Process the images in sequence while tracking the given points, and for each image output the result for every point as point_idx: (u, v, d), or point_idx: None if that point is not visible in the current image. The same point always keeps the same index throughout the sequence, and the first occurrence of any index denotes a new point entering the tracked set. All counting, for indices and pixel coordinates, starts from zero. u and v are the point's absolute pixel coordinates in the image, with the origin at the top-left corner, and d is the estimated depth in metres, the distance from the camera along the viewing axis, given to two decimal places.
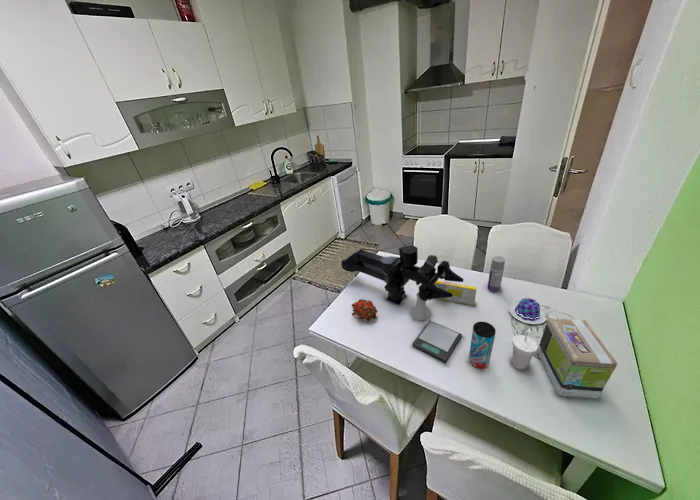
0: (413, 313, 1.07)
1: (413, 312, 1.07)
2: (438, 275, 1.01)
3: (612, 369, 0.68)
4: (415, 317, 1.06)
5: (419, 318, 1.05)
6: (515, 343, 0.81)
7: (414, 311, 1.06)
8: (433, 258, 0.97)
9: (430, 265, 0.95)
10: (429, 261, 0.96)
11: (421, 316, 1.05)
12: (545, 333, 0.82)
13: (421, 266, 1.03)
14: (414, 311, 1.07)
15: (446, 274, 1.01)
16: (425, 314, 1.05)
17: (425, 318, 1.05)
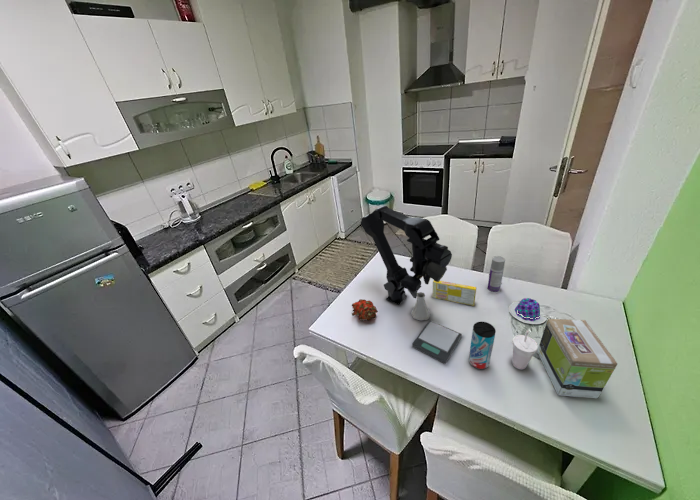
0: (413, 313, 1.07)
1: (413, 312, 1.07)
2: None
3: (612, 369, 0.68)
4: (415, 317, 1.06)
5: (419, 318, 1.05)
6: (515, 343, 0.81)
7: (414, 311, 1.06)
8: (444, 273, 0.93)
9: (438, 280, 0.92)
10: (441, 276, 0.92)
11: (421, 316, 1.05)
12: (545, 333, 0.82)
13: None
14: (414, 311, 1.07)
15: None
16: (425, 314, 1.05)
17: (425, 318, 1.05)
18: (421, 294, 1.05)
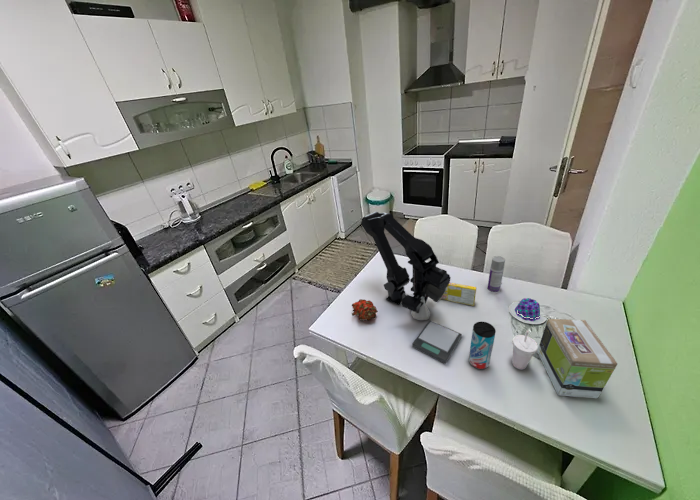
0: (413, 313, 1.07)
1: (413, 312, 1.07)
2: None
3: (612, 369, 0.68)
4: (415, 317, 1.06)
5: (419, 318, 1.05)
6: (515, 343, 0.81)
7: None
8: None
9: (437, 300, 0.96)
10: (440, 297, 0.96)
11: (421, 316, 1.05)
12: (545, 333, 0.82)
13: None
14: None
15: None
16: (425, 314, 1.05)
17: (425, 318, 1.05)
18: None
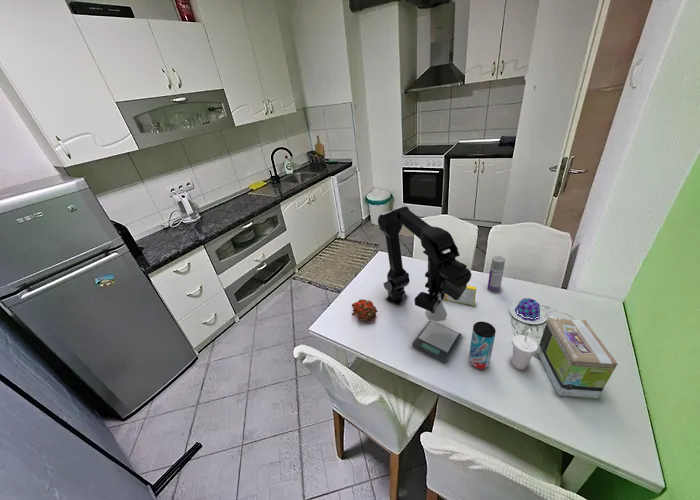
0: (427, 313, 0.93)
1: (427, 312, 0.93)
2: None
3: (612, 369, 0.68)
4: (430, 318, 0.91)
5: (435, 319, 0.91)
6: (515, 343, 0.81)
7: None
8: (464, 290, 0.83)
9: (457, 298, 0.82)
10: (461, 294, 0.82)
11: (437, 317, 0.90)
12: (545, 333, 0.82)
13: None
14: (428, 311, 0.92)
15: None
16: (442, 314, 0.90)
17: (442, 319, 0.91)
18: None
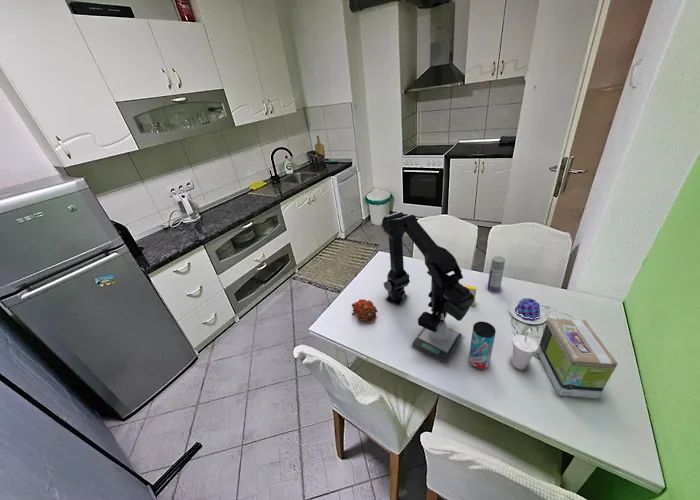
0: (430, 331, 0.94)
1: None
2: None
3: (612, 369, 0.68)
4: (433, 336, 0.93)
5: (437, 337, 0.92)
6: (515, 343, 0.81)
7: None
8: None
9: (460, 319, 0.83)
10: (464, 315, 0.83)
11: (440, 335, 0.92)
12: (545, 333, 0.82)
13: None
14: None
15: None
16: (444, 333, 0.91)
17: (444, 337, 0.92)
18: None
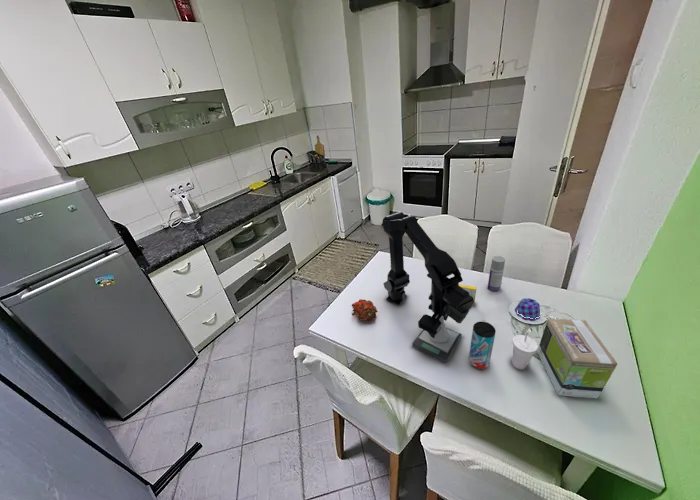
0: None
1: None
2: None
3: (612, 369, 0.68)
4: (432, 339, 0.93)
5: (437, 340, 0.93)
6: (515, 343, 0.81)
7: None
8: None
9: (460, 321, 0.83)
10: None
11: (440, 338, 0.92)
12: (545, 333, 0.82)
13: None
14: None
15: None
16: (444, 336, 0.92)
17: (444, 340, 0.93)
18: None
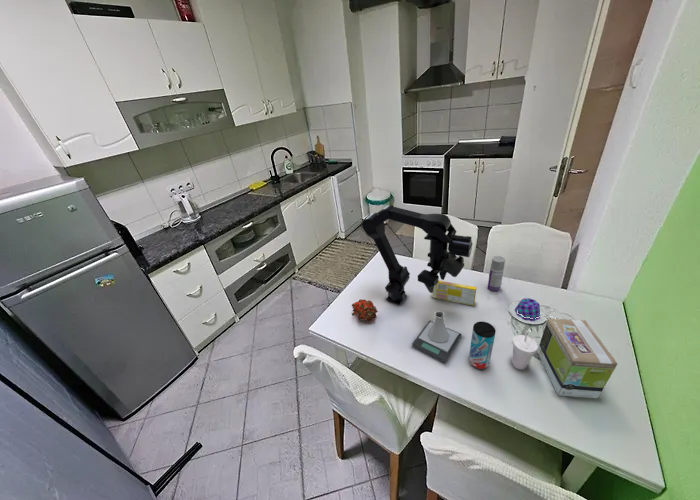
0: (430, 334, 0.94)
1: (430, 333, 0.95)
2: None
3: (612, 369, 0.68)
4: (432, 339, 0.93)
5: (437, 340, 0.93)
6: (515, 343, 0.81)
7: (432, 332, 0.94)
8: (461, 269, 0.94)
9: (455, 275, 0.93)
10: (459, 272, 0.93)
11: (440, 338, 0.92)
12: (545, 333, 0.82)
13: (448, 253, 0.95)
14: (431, 332, 0.94)
15: None
16: (444, 336, 0.92)
17: (444, 340, 0.93)
18: (440, 313, 0.92)
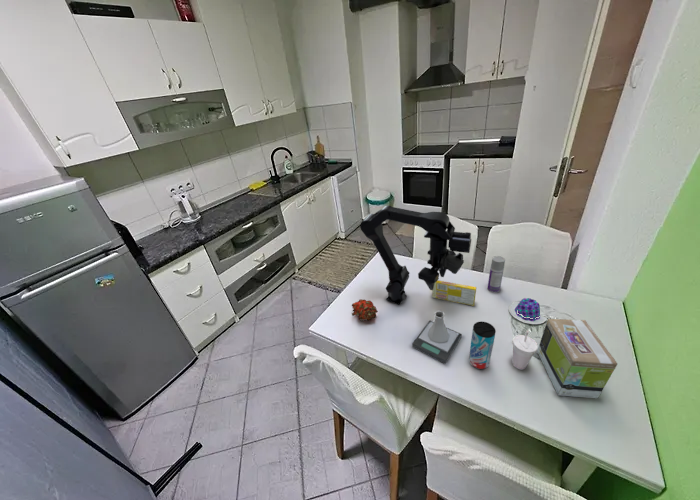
0: (430, 334, 0.94)
1: (430, 333, 0.95)
2: None
3: (612, 369, 0.68)
4: (432, 339, 0.93)
5: (437, 340, 0.93)
6: (515, 343, 0.81)
7: (432, 332, 0.94)
8: (461, 265, 0.96)
9: (455, 272, 0.94)
10: None
11: (440, 338, 0.92)
12: (545, 333, 0.82)
13: (448, 250, 0.97)
14: (431, 332, 0.94)
15: None
16: (444, 336, 0.92)
17: (444, 340, 0.93)
18: (440, 313, 0.92)
